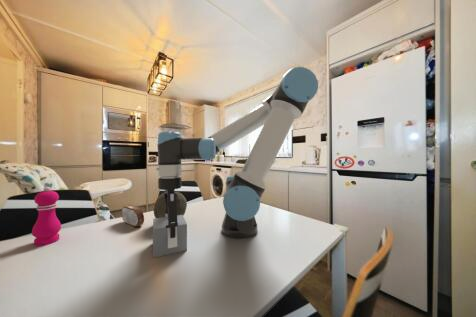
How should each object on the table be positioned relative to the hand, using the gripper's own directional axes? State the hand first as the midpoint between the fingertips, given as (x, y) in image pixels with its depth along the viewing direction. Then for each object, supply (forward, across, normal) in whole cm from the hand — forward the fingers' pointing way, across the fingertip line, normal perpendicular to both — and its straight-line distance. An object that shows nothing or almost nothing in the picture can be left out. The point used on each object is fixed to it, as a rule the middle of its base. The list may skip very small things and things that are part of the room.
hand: (170, 238), depth 61 cm
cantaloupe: (+3, -21, +2) cm, 21 cm away
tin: (+3, -28, -14) cm, 32 cm away
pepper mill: (+2, -22, -40) cm, 46 cm away
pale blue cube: (+3, 0, 0) cm, 3 cm away
